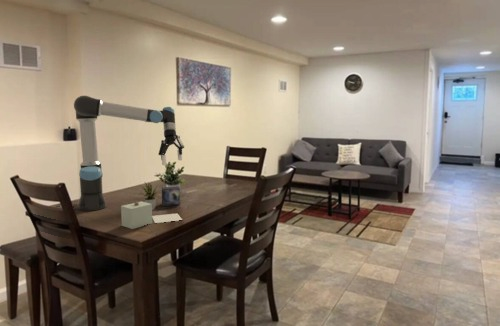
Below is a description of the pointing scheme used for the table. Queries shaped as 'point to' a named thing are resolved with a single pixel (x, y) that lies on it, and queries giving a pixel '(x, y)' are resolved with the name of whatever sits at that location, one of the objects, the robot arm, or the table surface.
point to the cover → (136, 214)
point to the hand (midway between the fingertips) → (172, 162)
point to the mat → (166, 218)
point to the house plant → (149, 195)
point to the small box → (170, 196)
